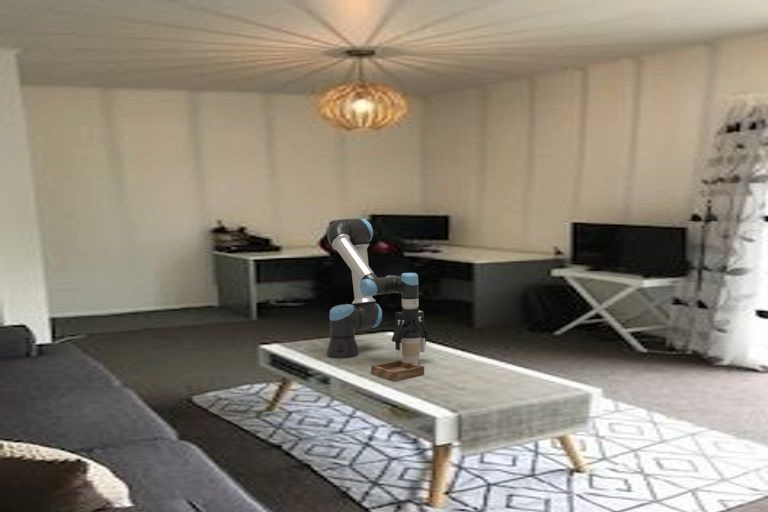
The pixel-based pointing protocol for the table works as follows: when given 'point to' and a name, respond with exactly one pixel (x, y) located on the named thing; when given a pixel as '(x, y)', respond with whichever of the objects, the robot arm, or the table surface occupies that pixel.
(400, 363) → the tray
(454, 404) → the table surface
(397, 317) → the light fixture
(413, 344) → the coffee cup
